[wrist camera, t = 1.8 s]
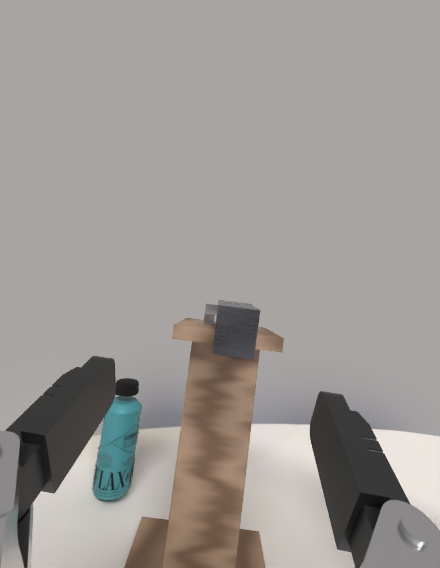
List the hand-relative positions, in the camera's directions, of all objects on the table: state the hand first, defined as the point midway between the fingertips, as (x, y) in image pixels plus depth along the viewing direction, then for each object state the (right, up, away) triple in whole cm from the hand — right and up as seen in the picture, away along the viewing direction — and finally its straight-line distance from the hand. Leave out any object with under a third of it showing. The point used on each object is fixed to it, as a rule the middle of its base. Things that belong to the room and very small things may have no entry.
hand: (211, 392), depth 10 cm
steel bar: (+1, -1, +19) cm, 19 cm away
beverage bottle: (-19, -33, +36) cm, 53 cm away
